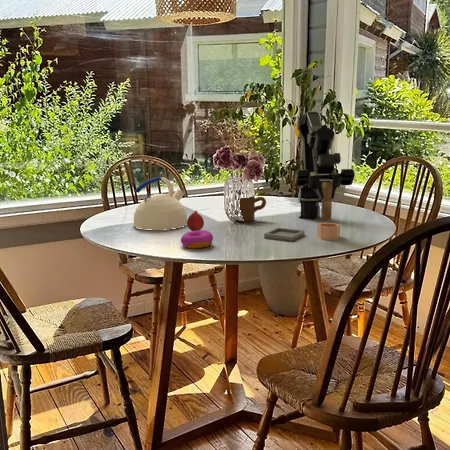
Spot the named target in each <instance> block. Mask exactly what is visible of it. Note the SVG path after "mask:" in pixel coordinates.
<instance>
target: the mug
mask: <svg viewBox="0 0 450 450" xmlns="http://www.w3.org/2000/svg"><path fill="white" fill-rule="evenodd" d="M257 202H261V203H260V204H259V205H255V204H256V203H257ZM266 205H267V200H266V198H265V197H263V196H257V197H255V195H253V197H249V198H241V199H240V210H241V213H242V214H241V215H242V216H243V219H244V221H245V222H244V223H252V222H253V221H255V219H256V218H255V213H256V212H257V211H260V210H263V209H264V208H265V207H266Z"/></svg>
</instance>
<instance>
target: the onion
mask: <svg viewBox="0 0 450 450" xmlns="http://www.w3.org/2000/svg"><path fill="white" fill-rule="evenodd" d="M204 225H205V221H204V218H203V216H202V215H201V214H200V213H198V210H194V211H193V212H192V213H190V215H189V216H188V217H187V228H188V229H189V230H190V232H191V231H198V230H202V229H203V228H204Z"/></svg>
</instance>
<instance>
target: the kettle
mask: <svg viewBox="0 0 450 450" xmlns="http://www.w3.org/2000/svg"><path fill="white" fill-rule="evenodd" d="M159 181H161V182H162V181H163V182H164V183H165V184H166V185H167V189H168V193H167V194H166V193H155V194H151V195H149V196H147V197H145V198H144V199H143V200H142V201H141V202H140V203H139V204H138V205H137V207H136V208H135V211H134V214H133V225H134V226H136V227H138V228H142V229H152V230H164V229H172V228H179V227H182V226H185V225H186V224H187V220H188V217H187V216H188V213H187V210H186V209H185V206H184V205H183V204H182V202H180V201H181V199H182V197H183V196H185V193H184V191H182V190H181V189H179V188H178V189H176V191H175V189H174V186H173V183H171V182H172V181H170V180H169V179H168V178H167V177H163V176H162V177H161V176H157V177H153V178H151V179H148V180H146V181H144V182H143V183H141V184H140V185H138V186H137V187H136V188H135V190H134V191H133V192H135V193H140V192H141V191H142V190H143V189H144V188H145V187H147V186H149V185H150V184H153V183H155V182H159ZM174 191H175V192H174ZM134 226H133V227H134ZM185 227H186V226H185Z"/></svg>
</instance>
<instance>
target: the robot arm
mask: <svg viewBox="0 0 450 450" xmlns="http://www.w3.org/2000/svg"><path fill="white" fill-rule="evenodd" d="M319 113H320V112H318V111H306V112H304V114H303V115H301V116H299V117H297V121H296V122H297V123H296V130H297V131H298V137H299V138H300V139H301V141H302V143H303V144H302V145H303V148H302V149H303V169H297V170H296V173H295V178H294V181H295V182H294V183H295V186H296V187H299V190H298V195H297V196H298V197H297V198H298V202H299V203H300V215H298V218H299V219H308V220H316V219H317V218H320V217H321V213H320V212H321V205H320V203H321V204H322V199H323V194H322V182H326V181H330V182H332V200H334V198H335V195H336V191H337V188H340V187H341V186H351V185H353V183H354V180H355V177H356V173H355V169H352V168H341V170H340V172H339V173H338V172H337V173H336V172H334V171H335V169H336V168H335V165H339V164H340V163H341V161H342V159H341V158H342V157H341V153H340V152H334V153H330V151H331V149H332V147H333V144H334V141H335V135H336V134H335V131H334V130H333V129H332V128H330V127H328V125H327V124H322V123H321V117H320V115H319Z"/></svg>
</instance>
